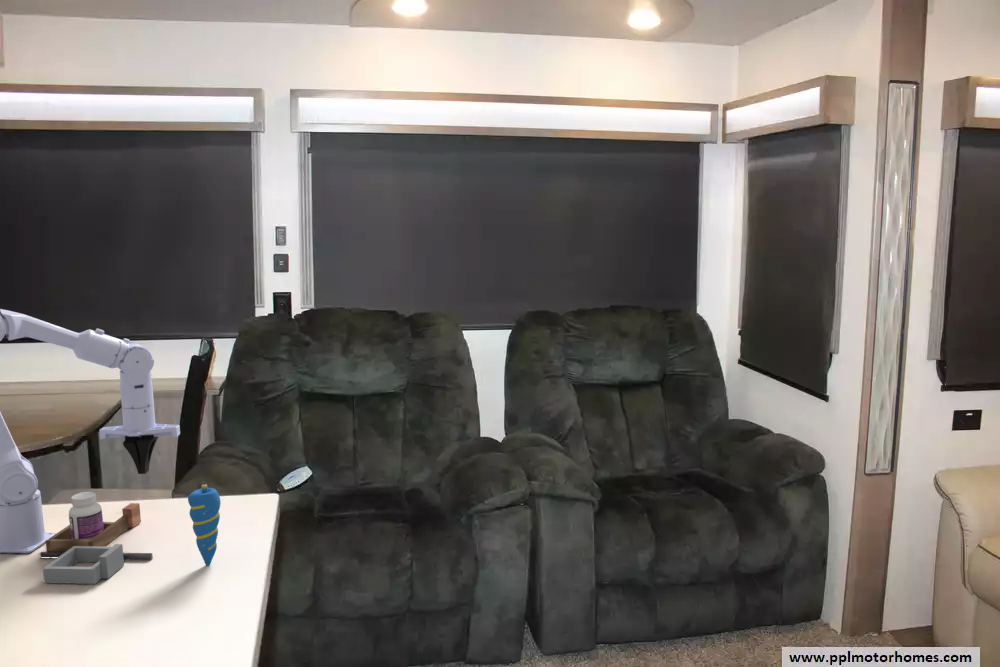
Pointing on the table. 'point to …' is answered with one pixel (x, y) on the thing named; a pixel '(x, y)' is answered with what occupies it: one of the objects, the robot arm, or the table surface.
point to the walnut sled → (110, 532)
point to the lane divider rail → (125, 555)
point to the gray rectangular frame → (103, 569)
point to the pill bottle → (85, 516)
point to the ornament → (205, 520)
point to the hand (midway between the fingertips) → (143, 472)
